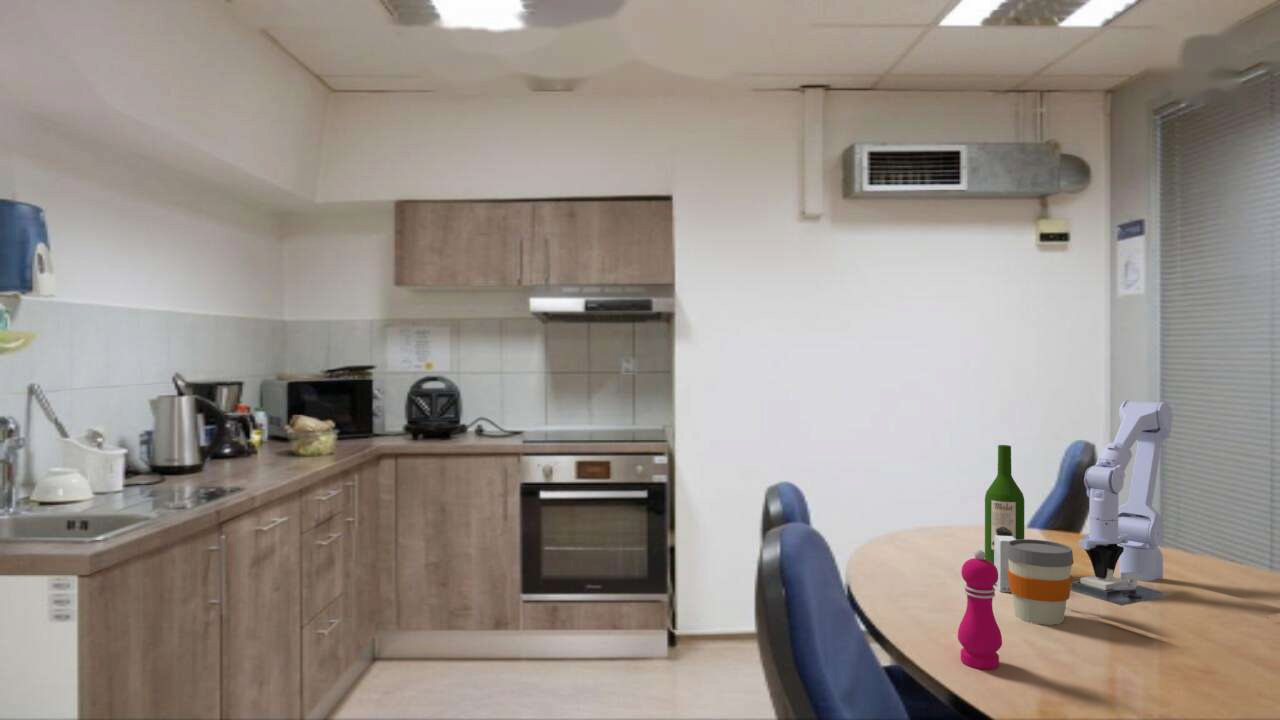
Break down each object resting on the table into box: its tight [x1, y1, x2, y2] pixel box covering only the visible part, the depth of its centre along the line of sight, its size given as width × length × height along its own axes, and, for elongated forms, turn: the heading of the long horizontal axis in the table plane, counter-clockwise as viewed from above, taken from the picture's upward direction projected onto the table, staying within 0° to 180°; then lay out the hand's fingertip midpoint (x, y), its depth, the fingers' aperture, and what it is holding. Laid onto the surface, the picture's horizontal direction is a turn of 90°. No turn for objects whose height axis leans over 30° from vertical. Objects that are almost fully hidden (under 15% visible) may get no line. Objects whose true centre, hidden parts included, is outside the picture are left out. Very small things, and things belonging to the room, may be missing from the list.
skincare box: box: [994, 535, 1016, 593], centre depth 179 cm, size 6×4×12 cm
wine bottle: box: [984, 444, 1025, 564], centre depth 191 cm, size 9×9×32 cm
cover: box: [1079, 569, 1129, 590], centre depth 177 cm, size 8×6×4 cm
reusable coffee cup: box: [1006, 538, 1075, 626], centre depth 159 cm, size 13×13×15 cm
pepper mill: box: [957, 549, 1003, 670], centre depth 135 cm, size 7×7×20 cm
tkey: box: [1112, 572, 1145, 594], centre depth 170 cm, size 1×7×5 cm, turn 98°
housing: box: [1070, 580, 1173, 606], centre depth 175 cm, size 18×16×2 cm
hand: (1103, 577), depth 177 cm, fingers closed on cover, 2 cm apart
